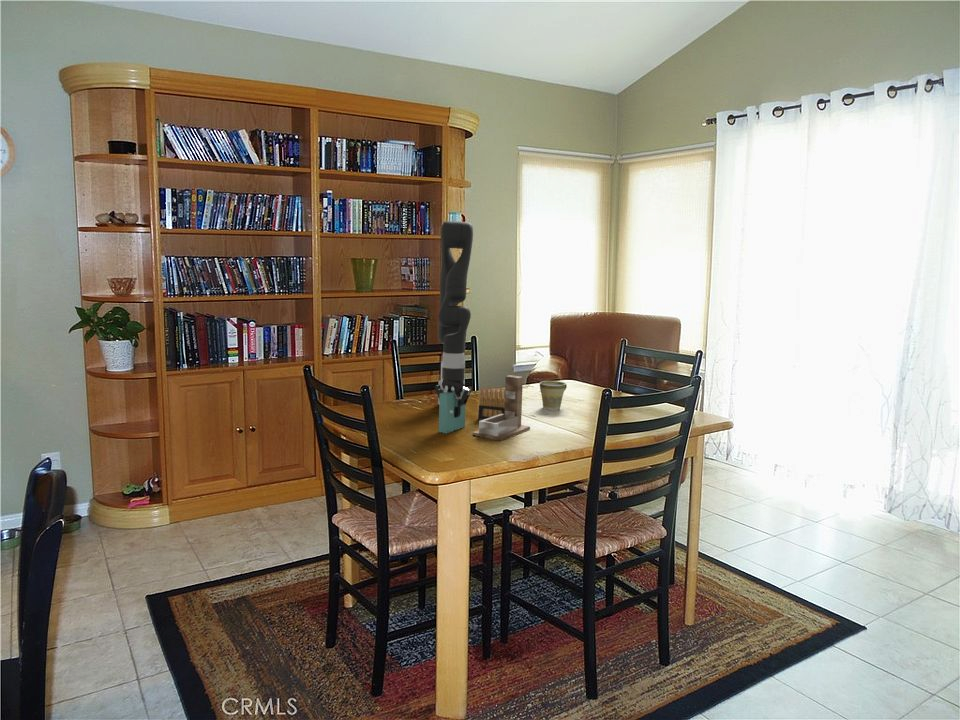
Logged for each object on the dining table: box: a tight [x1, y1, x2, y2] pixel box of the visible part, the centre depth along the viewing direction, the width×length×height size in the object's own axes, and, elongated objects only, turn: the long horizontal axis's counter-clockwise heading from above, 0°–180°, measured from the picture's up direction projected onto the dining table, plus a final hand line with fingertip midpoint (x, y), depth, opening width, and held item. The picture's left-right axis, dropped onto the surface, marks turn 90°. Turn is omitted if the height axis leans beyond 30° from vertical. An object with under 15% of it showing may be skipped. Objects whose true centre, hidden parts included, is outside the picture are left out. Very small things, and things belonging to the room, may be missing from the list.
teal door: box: [438, 391, 467, 434], centre depth 247 cm, size 4×11×13 cm, turn 147°
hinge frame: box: [471, 375, 531, 442], centre depth 245 cm, size 11×19×18 cm, turn 147°
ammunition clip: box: [477, 385, 505, 420], centre depth 263 cm, size 11×2×12 cm, turn 71°
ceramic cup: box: [539, 380, 567, 411], centre depth 285 cm, size 13×10×10 cm
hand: (452, 416), depth 247 cm, fingers closed on teal door, 3 cm apart
